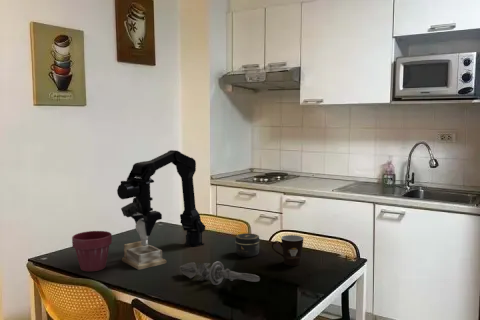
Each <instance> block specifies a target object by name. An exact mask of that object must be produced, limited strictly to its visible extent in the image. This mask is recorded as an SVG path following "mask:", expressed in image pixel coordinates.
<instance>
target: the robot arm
mask: <svg viewBox="0 0 480 320" xmlns="http://www.w3.org/2000/svg"><path fill="white" fill-rule="evenodd" d="M169 164H173V165H174V166H175V168H176V172H177V174H178V175H179V177H180V180H181V188H182V199H183V209H184V210H183V212H182V213H180V215H179V219H180V221H179V222H180V224H181V226H182V229H183V231H184V232H185V231H186V235H185V242H184V245H187V246H189V247H193V248H194V247H198V246H202V245H205V242H203V233H204V232H206V231H205V230H206V225H205V223H203V222H202V219H201V215H200V212H198V210H197V208H196V198H195V189H194V188H195V187H194V175H195V173H196V171H197V170H196V169H197V162H196V160H195V158H193V157H190V156H189V155H186V154H184V153H182V152H181V151H179V150H174V149H173V150H172V149H171V150H168V151H167V152H165V153H163V154H161V155H158V156H156V157H153V158H152V159H150V160H145V161H140V162H139V161H138V162H135V163H134V164H133V165H132V167H131V170H130V172H129V173H128V176H127V178H126V180H120V184H119V185H118V186H117V189H116V192H117V196H118V198H119V199H120V200H127V199H132V202H130V203H128V204H126V205H124V206H122V207H121V208H120V209H121V212H122V215H123V217H126V218H132V219H133V220H134V222H135V224H136V223H137V221H138V220H139V219H141V218H143V219H144V220H141V221H142V222H144V223H145V230H146V235H147V236H148V237H150V236H151V234H152V231H153V229H154V227H155V225H156V223H157V221H159V220H162V219H163V215H162V213H161V212H160V211H157V210H154V208H153V207H152V206H151V205H152V204H151V201H153V199H154V197H151V184H152V183H155V180H154V179H152V177H153V176H154V175H156V172H157V171H158V170H159V169H161V168H164V167H165V166H166V167H167V165H169Z"/></svg>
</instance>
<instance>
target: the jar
mask: <svg viewBox="0 0 480 320" xmlns="http://www.w3.org/2000/svg"><path fill="white" fill-rule="evenodd" d="M234 240H235V241H234V242H235V253H236V254H237V256H239V257H242V258H253V257H256V256H257V255H258V254H260V253H259V252H260V236H259V235H258V234H257V233H256V234H255V233H248V232H247V233H245V232H244V233H239V234H237V235H235V239H234Z"/></svg>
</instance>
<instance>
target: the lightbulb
mask: <svg viewBox="0 0 480 320" xmlns="http://www.w3.org/2000/svg"><path fill="white" fill-rule="evenodd" d="M141 220H144V219H143V218H141V219H139V220H138V221H137V223H135V230H136V232H137V234H138V235H139V239H140V241H141V245H143V246H146V245H147V244H148V245H149V241H148V239H149V236H147V235H146V230H145V223H144V222H142V221H141Z"/></svg>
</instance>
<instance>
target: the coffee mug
mask: <svg viewBox="0 0 480 320" xmlns="http://www.w3.org/2000/svg"><path fill="white" fill-rule="evenodd" d="M277 243H278V244H279V245H280V246H281V248H282V249H281V250H282V253H281V252H279V251H277V250H276V248H274V244H277ZM303 245H304V237H303V236H302V235H295V234H290V235H289V234H288V235H287V234H286V235H282V236H281V241H279V240H275V241H273V242H272V244H271V248H272V250H273V251H274V252H275V253H276V254H278V255H279V256H281V257H282V258H283V264H284V265H286V266H291V267H292V266H299V265H301V261H302V255H303Z"/></svg>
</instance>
